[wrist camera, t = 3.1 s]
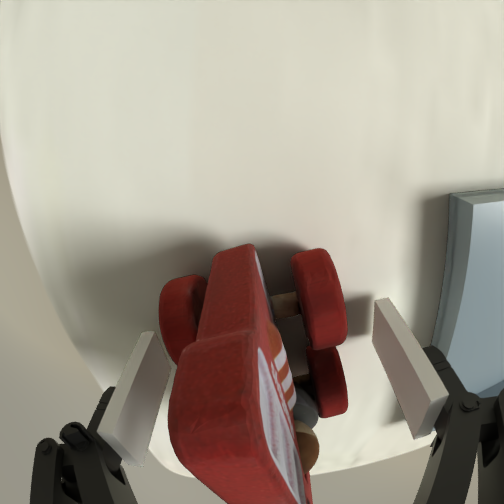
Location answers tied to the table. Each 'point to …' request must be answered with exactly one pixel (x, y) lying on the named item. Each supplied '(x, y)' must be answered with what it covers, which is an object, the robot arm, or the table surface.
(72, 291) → the table surface
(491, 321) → the tray
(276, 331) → the toy fire truck
